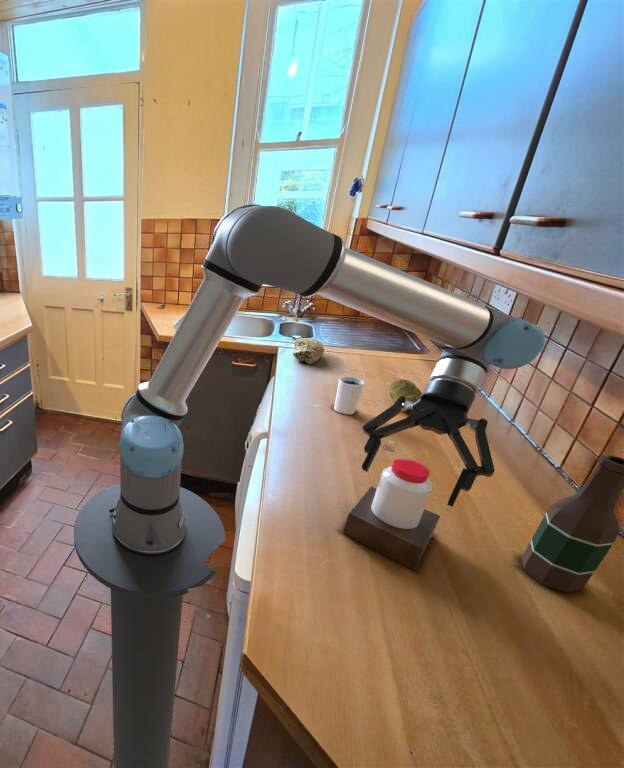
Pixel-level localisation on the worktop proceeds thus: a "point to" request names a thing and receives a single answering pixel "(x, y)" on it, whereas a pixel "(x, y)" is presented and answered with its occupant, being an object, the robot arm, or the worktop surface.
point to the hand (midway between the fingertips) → (404, 485)
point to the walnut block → (389, 532)
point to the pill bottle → (402, 493)
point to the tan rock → (308, 350)
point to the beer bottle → (577, 531)
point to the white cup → (348, 394)
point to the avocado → (405, 392)
